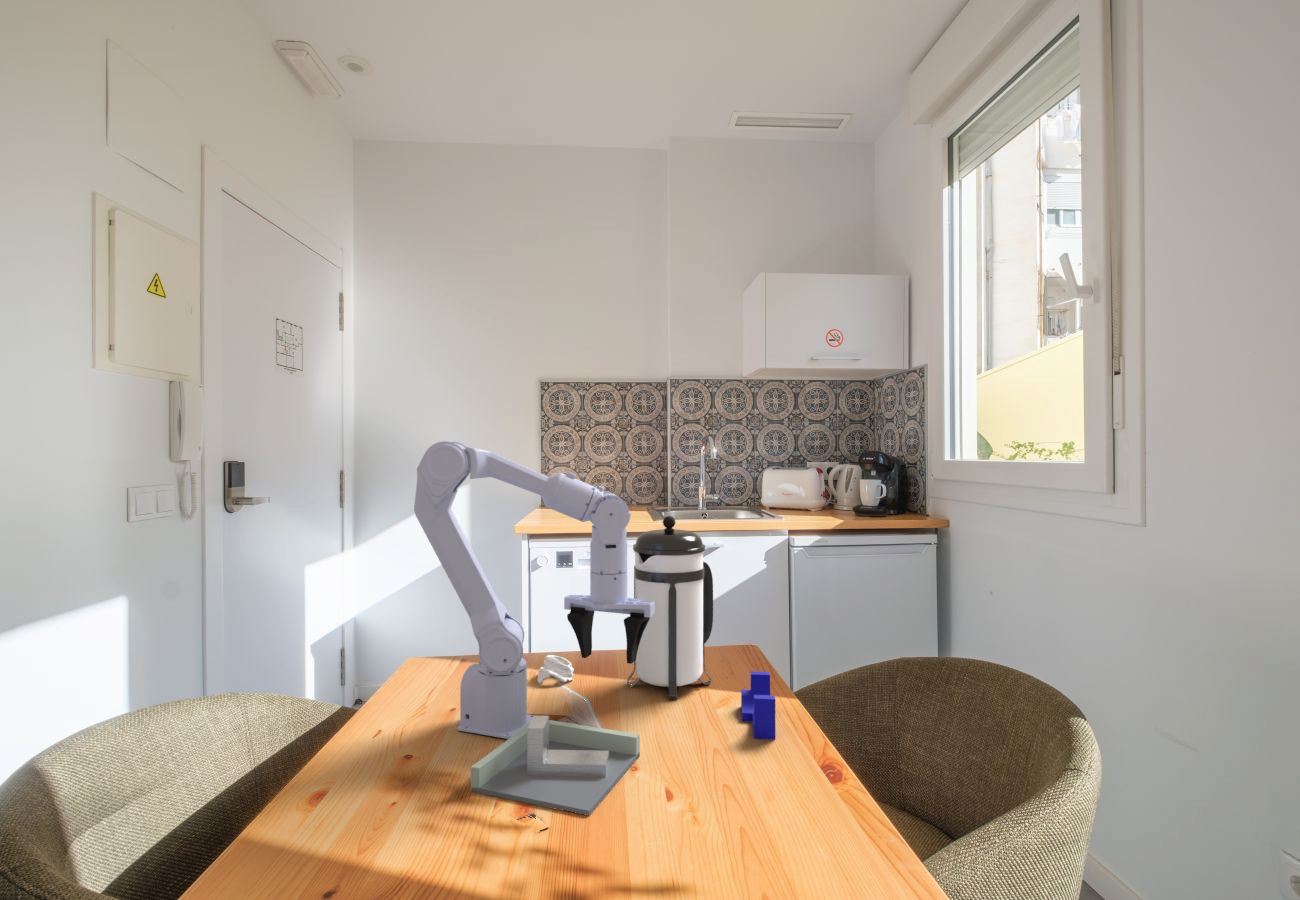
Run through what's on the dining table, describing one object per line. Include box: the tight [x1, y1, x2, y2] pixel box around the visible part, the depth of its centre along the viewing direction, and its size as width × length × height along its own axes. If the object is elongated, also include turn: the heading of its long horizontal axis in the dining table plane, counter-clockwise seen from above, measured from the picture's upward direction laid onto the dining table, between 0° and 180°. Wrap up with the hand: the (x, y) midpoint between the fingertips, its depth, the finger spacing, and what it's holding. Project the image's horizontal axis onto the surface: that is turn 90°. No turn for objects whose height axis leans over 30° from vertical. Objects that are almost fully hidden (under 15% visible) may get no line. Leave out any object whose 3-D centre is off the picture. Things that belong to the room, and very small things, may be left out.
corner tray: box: [470, 719, 641, 816], centre depth 88 cm, size 16×16×3 cm
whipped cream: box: [537, 654, 575, 685], centre depth 124 cm, size 8×7×5 cm
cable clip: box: [740, 670, 776, 741], centre depth 104 cm, size 12×4×6 cm, turn 174°
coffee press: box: [626, 515, 714, 700], centre depth 122 cm, size 17×16×30 cm
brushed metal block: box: [527, 715, 609, 777], centre depth 88 cm, size 10×4×6 cm, turn 88°
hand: (608, 658), depth 105 cm, fingers open, 7 cm apart
